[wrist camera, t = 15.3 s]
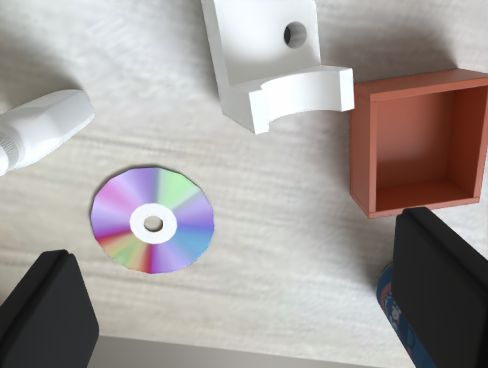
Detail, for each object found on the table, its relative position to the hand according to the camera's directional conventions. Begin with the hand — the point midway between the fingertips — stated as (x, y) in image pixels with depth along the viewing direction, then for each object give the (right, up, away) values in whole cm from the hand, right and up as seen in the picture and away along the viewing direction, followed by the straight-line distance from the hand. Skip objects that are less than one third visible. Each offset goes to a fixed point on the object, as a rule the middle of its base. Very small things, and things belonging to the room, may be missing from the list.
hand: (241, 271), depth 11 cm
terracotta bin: (+14, +7, +22) cm, 26 cm away
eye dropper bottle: (-15, +8, +19) cm, 25 cm away
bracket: (+2, +15, +17) cm, 23 cm away
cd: (-8, -1, +23) cm, 25 cm away
